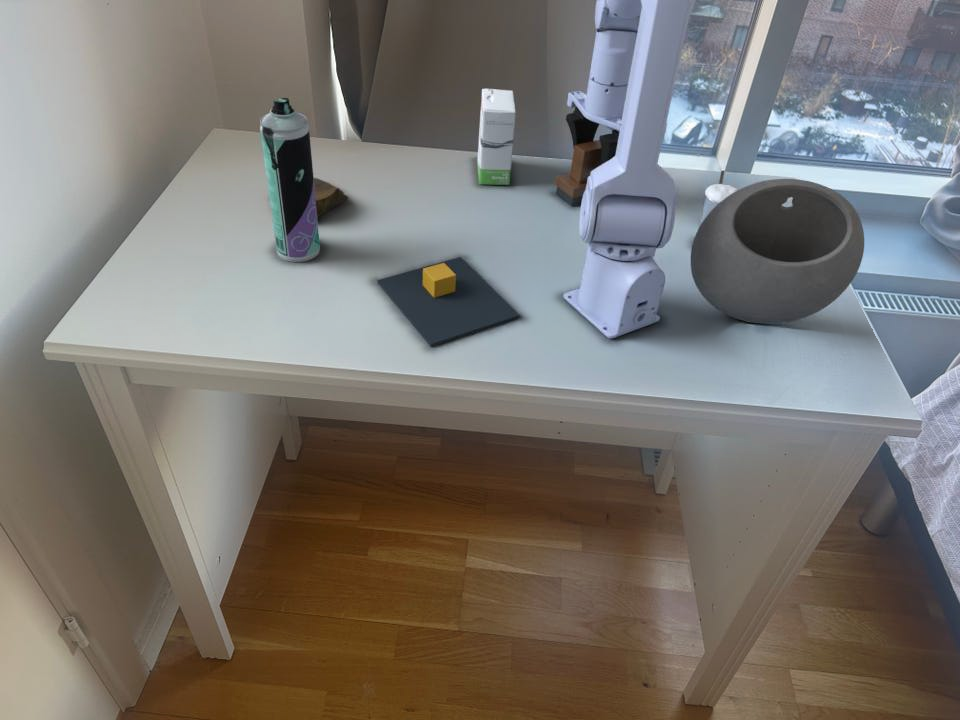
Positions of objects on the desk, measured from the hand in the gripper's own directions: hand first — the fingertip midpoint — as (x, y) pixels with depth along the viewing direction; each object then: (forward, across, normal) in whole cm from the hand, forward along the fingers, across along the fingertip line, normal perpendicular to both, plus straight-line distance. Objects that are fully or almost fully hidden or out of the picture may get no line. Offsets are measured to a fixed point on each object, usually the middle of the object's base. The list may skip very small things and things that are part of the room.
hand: (593, 169), depth 111 cm
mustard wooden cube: (+3, -12, +33) cm, 35 cm away
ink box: (+4, +12, +10) cm, 16 cm away
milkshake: (+4, -19, -6) cm, 20 cm away
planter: (+4, -34, +2) cm, 35 cm away
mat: (+4, -14, +33) cm, 36 cm away
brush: (+4, 0, 0) cm, 4 cm away
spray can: (+4, +4, +45) cm, 45 cm away
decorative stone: (+4, +15, +39) cm, 42 cm away
